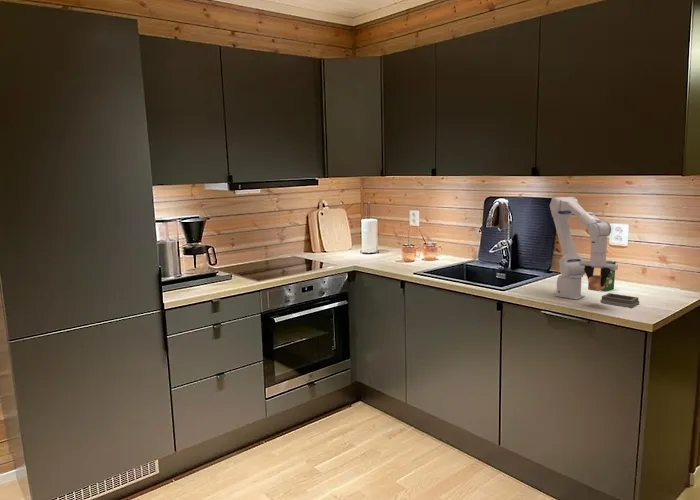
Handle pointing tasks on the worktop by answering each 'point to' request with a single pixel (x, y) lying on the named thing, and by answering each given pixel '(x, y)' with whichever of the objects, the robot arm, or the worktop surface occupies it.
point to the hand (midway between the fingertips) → (596, 285)
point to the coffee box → (609, 278)
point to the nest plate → (620, 300)
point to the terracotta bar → (595, 283)
